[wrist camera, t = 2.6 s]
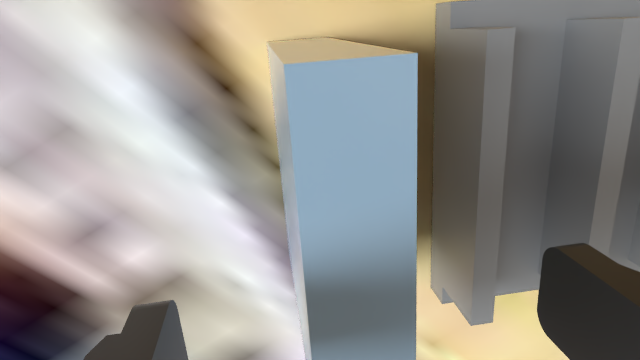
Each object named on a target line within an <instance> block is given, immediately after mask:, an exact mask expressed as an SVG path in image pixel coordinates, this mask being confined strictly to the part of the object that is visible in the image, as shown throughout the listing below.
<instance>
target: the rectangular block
mask: <svg viewBox="0 0 640 360" xmlns="http://www.w3.org/2000/svg"><path fill="white" fill-rule="evenodd" d="M267 50H268V59H269V69H270V78H271V88H272V97H273V106H274V116H275V125H276V135H277V144H278V153H279V163H280V172H281V182H282V191H283V200H284V210H285V219H286V229H287V238H288V247H289V256H290V263H291V269H292V276H293V282H294V288H295V295H296V301H297V308H298V314H299V321H300V327H301V334H302V340H303V346H304V353H305V359H306V360H416V256H417V85H418V53H415V52H409V51H404V50H398V49H392V48H386V47H380V46H375V45H369V44H363V43H357V42H351V41H346V40H340V39H334V38H328V37H322V38H310V39H297V40H284V41H271V42H267Z"/></svg>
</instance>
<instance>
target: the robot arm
mask: <svg viewBox="0 0 640 360" xmlns="http://www.w3.org/2000/svg"><path fill="white" fill-rule="evenodd" d="M537 312H538V318H539V321H540V324H541V326H542V328H543V330H544V332H545V333H546V335H547V336H548V337H549V338H550V339H551V340H552V341H553V342H554V344H555V345H556V346H557V347H558V348H559V349H560V350H561V351H562V352H563V353H564V354H565V355H566V356H567V357H568V358H569V359H570V360H640V272H639V271H636V270H633V269H631V268H628V267H626V266H623V265H620V264H618V263H617V262H615V261H613V260H612V259H610V258H609V257H607V256H606V255H604V254H602V253H601V252H599V251H598V250H596V249H595V248H593V247H591V246H590V245H588V244H585V243H577V244H570V245H563V246H556V247H550V248H548V249H546V251H545V252H544V254H543V258H542V267H541V276H540V286H539V295H538V305H537ZM84 360H188V356H187V351H186V347H185V342H184V337H183V333H182V328H181V323H180V319H179V314H178V309H177V306H176V303H175V302H174V301H173V300H169V301H162V302H155V303H148V304H141V305H135V306H134V307H133V308H132V310H131V312H130V314H129V316H128V319H127V321H126V323H125V326H124V328H123V330H122V332H121V334H114V335H107V336H106V337H105V338H104V339H103V340H101V341H100V342H99V343H98V344H97V345H96V346H95V347H94V348H93V349H92V350H91V351H90V352H89V353H88V354H87V355H86V356H85V358H84Z"/></svg>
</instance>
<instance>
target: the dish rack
mask: <svg viewBox="0 0 640 360" xmlns="http://www.w3.org/2000/svg"><path fill="white" fill-rule="evenodd" d="M577 243H585V244H588V245H590V246H591V247H593V248H595V249H596V250H598V251H599V252H601V253H602V254H604V255H606V256H607V257H609V258H610V259H612V260H613V261H615V262H617V263H618V264H620V265H623V266H626V267H628V268H631V269H633V270H636V271H639V272H640V0H470V1H456V2H446V3H437V4H436V31H435V85H434V138H433V192H432V245H431V288H432V290H433V291H434V293H435V294H436V296H437V297H438V299H439V300H440V302H441V303H442V304H445V303H451V302H454V303H455V305H456V306H457V307H458V309H459V310H460V312H461V313H462V314H463V316H464V317H465V319H466V320H467V321H468V323H469V324H470V325H471V326H472V325H479V324H485V323H491V322H493V313H494V300H495V296H498V295H504V294H511V293H518V292H524V291H531V290H538V289H539V286H540V276H541V267H542V258H543V254H544V252H545V251H546V249H548V248H550V247H556V246H563V245H570V244H577Z"/></svg>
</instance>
